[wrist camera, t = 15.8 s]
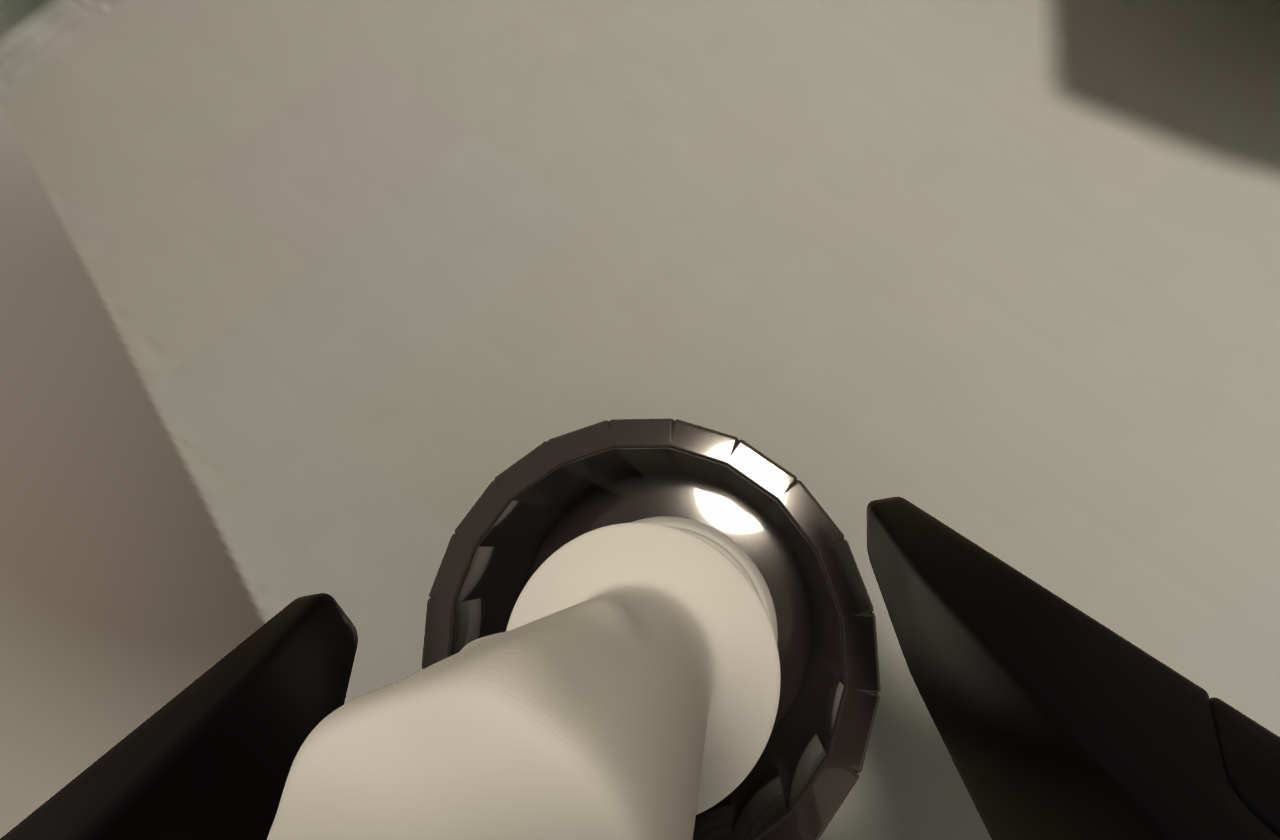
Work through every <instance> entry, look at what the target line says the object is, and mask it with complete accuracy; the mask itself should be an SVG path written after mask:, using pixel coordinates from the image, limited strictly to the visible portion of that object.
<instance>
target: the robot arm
mask: <svg viewBox="0 0 1280 840" xmlns="http://www.w3.org/2000/svg"><path fill="white" fill-rule="evenodd" d="M867 549H868V555H869V559H870V562H871V565H872V568H873V571H874V574H875V577H876V579H877V582H878V585H879V588H880V591H881V593H882V596H883V599H884V602H885V605H886V607H887V610H888V613H889V616H890V619H891V621H892V624H893V627H894V630H895V633H896V635H897V638H898V641H899V644H900V646H901V649H902V652H903V655H904V657H905V660H906V663H907V665H908V668H909V670H910V673H911V675H912V677H913V679H914V682H915V684H916V686H917V688H918V690H919V693H920V695H921V697H922V699H923V701H924V703H925V705H926V707H927V709H928V711H929V713H930V715H931V717H932V719H933V721H934V723H935V725H936V727H937V729H938V731H939V733H940V735H941V737H942V739H943V741H944V744H945V746H946V748H947V750H948V752H949V754H950V756H951V758H952V760H953V762H954V764H955V766H956V768H957V770H958V772H959V774H960V776H961V778H962V780H963V782H964V784H965V786H966V788H967V790H968V792H969V795H970V797H971V799H972V801H973V803H974V805H975V807H976V809H977V811H978V813H979V815H980V817H981V819H982V821H983V823H984V825H985V827H986V829H987V831H988V833H989V835H990V837H991V839H992V840H1280V737H1279V736H1277V735H1275V734H1274V733H1272V732H1270V731H1269V730H1267V729H1266V728H1264V727H1263V726H1261V725H1259V724H1258V723H1256V722H1255V721H1253V720H1252V719H1250V718H1248V717H1247V716H1245V715H1244V714H1242V713H1241V712H1239V711H1237V710H1236V709H1234V708H1233V707H1231V706H1230V705H1228V704H1226V703H1225V702H1223V701H1222V700H1220V699H1218V698H1210V699H1209V696H1208V694H1207V692H1206V691H1205V690H1204V689H1202V688H1201V687H1199V686H1198V685H1196V684H1194V683H1193V682H1191V681H1190V680H1188V679H1187V678H1185V677H1183V676H1182V675H1180V674H1179V673H1177V672H1176V671H1174V670H1172V669H1171V668H1169V667H1168V666H1166V665H1165V664H1163V663H1161V662H1160V661H1158V660H1157V659H1155V658H1154V657H1152V656H1150V655H1149V654H1147V653H1146V652H1144V651H1143V650H1141V649H1140V648H1138V647H1136V646H1135V645H1133V644H1132V643H1130V642H1129V641H1127V640H1125V639H1124V638H1122V637H1121V636H1119V635H1118V634H1116V633H1114V632H1113V631H1111V630H1110V629H1108V628H1107V627H1105V626H1103V625H1102V624H1100V623H1099V622H1097V621H1096V620H1094V619H1092V618H1091V617H1089V616H1088V615H1086V614H1085V613H1083V612H1081V611H1080V610H1078V609H1077V608H1075V607H1074V606H1072V605H1070V604H1069V603H1067V602H1066V601H1064V600H1063V599H1061V598H1059V597H1058V596H1056V595H1055V594H1053V593H1052V592H1050V591H1048V590H1047V589H1045V588H1044V587H1042V586H1041V585H1039V584H1037V583H1036V582H1034V581H1033V580H1031V579H1030V578H1028V577H1026V576H1025V575H1023V574H1022V573H1020V572H1019V571H1017V570H1015V569H1014V568H1012V567H1011V566H1009V565H1008V564H1006V563H1004V562H1003V561H1001V560H1000V559H998V558H997V557H995V556H993V555H992V554H990V553H989V552H987V551H986V550H984V549H983V548H981V547H979V546H978V545H976V544H975V543H973V542H972V541H970V540H968V539H967V538H965V537H964V536H962V535H961V534H959V533H957V532H956V531H954V530H953V529H951V528H950V527H948V526H946V525H945V524H943V523H942V522H940V521H939V520H937V519H935V518H934V517H932V516H931V515H929V514H928V513H926V512H924V511H923V510H921V509H920V508H918V507H917V506H915V505H913V504H912V503H910V502H909V501H907V500H905V499H904V498H901V497H892V498H886V499H880V500H874V501H871V502H870V503H869V504H868V506H867ZM357 643H358V636H357V631H356V628H355V626H354V625H353V623H352V622H351V621H350V619H349V618H348V617H347V615H346V614H345V613H344V611H343V610H342V609H341V607H340V606H339V605H338V603H337V602H336V601H335V599H334V598H333V597H332V596H330V595H328V594H325V593H320V594H315V595H309V596H303V597H300V598H297V599H295V600H294V601H293V602H291V603H290V604H289V605H288V606H286V607H285V608H284V609H283V610H282V611H280V612H279V613H278V614H277V615H275V616H274V617H273V618H272V619H270V620H269V621H268V622H267V623H266V624H264V625H263V626H262V627H261V628H259V629H258V630H257V631H256V632H255V633H253V634H252V635H251V636H250V637H248V638H247V639H246V640H245V641H244V642H242V643H241V644H240V645H239V646H237V647H236V648H235V649H234V650H232V651H231V652H230V653H229V654H227V655H226V656H225V657H224V658H223V659H221V660H220V661H219V662H218V663H216V664H215V665H214V666H213V667H212V668H210V669H209V670H208V671H206V672H205V673H204V674H203V675H202V676H201V677H199V678H198V679H197V680H195V681H194V682H193V683H192V684H190V686H188V687H187V688H186V689H184V690H183V691H182V692H181V693H179V694H178V695H177V696H176V697H174V698H173V699H172V700H171V701H170V702H168V703H167V704H166V705H165V706H163V707H162V708H161V709H160V710H159V711H157V712H156V713H155V714H154V715H152V716H151V717H150V718H149V719H147V720H146V721H145V722H144V723H142V724H141V725H140V726H139V727H138V728H137V729H135V730H134V731H133V732H131V733H130V734H129V735H128V736H127V737H125V738H124V739H123V740H122V741H120V742H119V743H118V744H117V745H115V746H114V747H113V748H112V749H111V750H109V751H108V752H107V753H106V754H104V755H103V756H102V757H101V758H100V759H98V760H97V761H96V762H94V763H93V764H92V765H91V766H90V767H88V768H87V769H86V770H85V771H83V772H82V773H81V774H80V775H78V776H77V777H76V778H75V779H74V780H72V781H71V782H70V783H69V784H67V785H66V786H65V787H64V788H63V789H61V790H60V791H59V792H58V793H56V794H55V795H54V796H53V797H51V798H50V799H49V800H48V801H46V802H45V803H44V804H43V805H42V806H40V807H39V808H38V809H37V810H35V811H34V812H33V813H32V814H31V815H29V816H28V817H27V818H26V819H24V820H23V821H22V822H21V823H20V824H18V825H17V826H16V827H14V828H13V829H12V830H11V831H10V832H8V833H7V834H6V835H5V836H3V837H2V838H1V839H0V840H267V837H268V834H269V832H270V829H271V827H272V824H273V821H274V819H275V816H276V813H277V810H278V807H279V803H280V800H281V796H282V793H283V790H284V786H285V783H286V780H287V777H288V774H289V771H290V769H291V766H292V764H293V761H294V759H295V757H296V755H297V753H298V751H299V749H300V747H301V746H302V744H303V742H304V741H305V740H306V738H307V737H308V735H309V734H310V733H311V731H312V730H313V729H314V728H315V727H316V726H317V725H318V724H319V723H320V722H321V721H322V720H323V719H324V718H325V717H327V716H328V715H329V714H330V713H332V712H333V711H334V710H336V709H338V708H339V707H341V706H343V705H344V701H345V697H346V692H347V688H348V684H349V679H350V675H351V670H352V666H353V662H354V657H355V653H356V649H357Z"/></svg>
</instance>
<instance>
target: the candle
mask: <svg viewBox="0 0 1280 840" xmlns="http://www.w3.org/2000/svg"><path fill="white" fill-rule="evenodd" d="M777 643H778V627H777V618H776V612H775V607H774V603H773V600H772V597H771V594H770V591H769V588H768V586H767V584H766V582H765V580H764V578H763V576H762V574H761V572H760V571H759V569H758V568H757V566H756V565H755V563H754V562H753V561H752V559H751V558H750V557H749V556H748V554H747V553H746V552H745V551H744V550H743V549H742V548H741V547H740V546H739V545H738V544H736V543H735V542H734V541H733V540H732V539H730V538H729V537H728V536H726V535H725V534H723V533H722V532H720V531H718V530H716V529H715V528H713V527H711V526H708V525H706V524H704V523H701V522H698V521H695V520H691V519H687V518H681V517H672V516H659V517H650V518H645V519H640V520H637V521H634V522H631V523H621V524H614V525H609V526H605V527H601V528H598V529H595V530H592V531H590V532H587V533H585V534H583V535H581V536H579V537H577V538H575V539H573V540H571V541H570V542H568V543H567V544H565V545H564V546H562V547H561V548H559V549H558V550H557V551H556V552H554V553H553V554H552V555H551V556H550V557H549V558H548V559H547V560H546V561H544V563H543V564H542V565H541V566H540V567H539V568H538V569H537V570H536V571H535V573H534V574H533V575H532V577H531V578H530V579H529V581H528V582H527V584H526V585H525V587H524V588H523V590H522V592H521V594H520V595H519V597H518V599H517V601H516V604H515V606H514V608H513V611H512V613H511V616H510V619H509V622H508V625H507V629H506V632H501V633H497V634H492V635H489V636H485V637H481V638H478V639H476V640H473V641H472V642H470V643H468V644H467V645H466V646H464V647H463V648H462V650H461V651H460V652H459V653H456V654H454V655H452V656H450V657H448V658H445V659H443V660H441V661H439V662H437V663H435V664H433V665H431V666H429V667H427V668H425V669H423V670H421V671H419V672H417V673H415V674H413V675H411V676H409V677H407V678H405V679H403V680H401V681H399V682H396V683H394V684H392V685H389V686H387V687H384V688H381V689H379V690H376V691H373V692H371V693H368V694H366V695H363V696H361V697H358V698H356V699H354V700H352V701H350V702H348V703H346V704H344V705H343V706H341V707H339V708H338V709H336V710H334V711H333V712H332V713H330V714H329V715H328V716H327V717H325V718H324V719H323V720H322V721H321V722H320V723H319V724H318V725H317V726H316V727H315V728H314V729H313V730H312V731H311V733H310V734H309V735H308V737H307V738H306V740H305V741H304V742H303V744H302V746H301V747H300V749H299V751H298V753H297V755H296V757H295V759H294V761H293V764H292V766H291V769H290V771H289V774H288V777H287V780H286V783H285V786H284V790H283V793H282V796H281V800H280V803H279V807H278V810H277V813H276V816H275V819H274V821H273V824H272V827H271V829H270V832H269V834H268V837H267V840H693V833H694V826H695V818H696V815H697V814H700V813H702V812H704V811H706V810H707V809H709V808H711V807H713V806H714V805H716V804H717V803H719V802H720V801H721V800H723V799H724V798H725V797H727V796H728V795H729V794H730V793H731V792H732V791H734V790H735V789H736V788H737V787H738V786H739V785H740V784H741V782H742V781H743V780H744V779H745V778H746V777H747V775H748V774H749V773H750V772H751V770H752V769H753V767H754V766H755V764H756V763H757V761H758V760H759V758H760V756H761V754H762V752H763V751H764V749H765V746H766V744H767V742H768V740H769V737H770V735H771V732H772V729H773V726H774V722H775V719H776V715H777V710H778V704H779V697H780V682H781V675H780V660H779V653H778V647H777Z"/></svg>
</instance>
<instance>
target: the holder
mask: <svg viewBox="0 0 1280 840" xmlns="http://www.w3.org/2000/svg"><path fill="white" fill-rule="evenodd" d="M659 516H672V517H681V518H687V519H691V520H695V521H698V522H701V523H704V524H706V525H708V526H711V527H713V528H715V529H716V530H718V531H720V532H722V533H723V534H725V535H726V536H728V537H729V538H730V539H732V540H733V541H734V542H735V543H736V544H738V545H739V546H740V547H741V548H742V549H743V550H744V551H745V552H746V553H747V554H748V556H749V557H750V558H751V559H752V561H753V562H754V563H755V565H756V566H757V568H758V569H759V571H760V572H761V574H762V576H763V578H764V580H765V582H766V584H767V586H768V588H769V591H770V594H771V597H772V600H773V603H774V607H775V612H776V618H777V627H778V643H777V647H778V653H779V660H780V675H781V682H780V697H779V704H778V710H777V715H776V719H775V722H774V726H773V729H772V732H771V735H770V737H769V740H768V742H767V744H766V746H765V749H764V751H763V752H762V754H761V756H760V758H759V760H758V761H757V763H756V764H755V766H754V767H753V769H752V770H751V772H750V773H749V774H748V775H747V777H746V778H745V779H744V780H743V781H742V782H741V784H740V785H739V786H738V787H737V788H736V789H735V790H734V791H732V792H731V793H730V794H729V795H728V796H727V797H725V798H724V799H723V800H721V801H720V802H719V803H717V804H716V805H714V806H713V807H711V808H709V809H707V810H706V811H704V812H702V813H700V814H697V815H696V818H695V826H694V833H693V840H818V839H819V838H820V836H821V835H822V833H823V832H824V830H825V829H826V827H827V826H828V824H829V822H830V821H831V819H832V818H833V816H834V815H835V813H836V812H837V810H838V809H839V807H840V806H841V804H842V803H843V801H844V800H845V798H846V797H847V795H848V794H849V792H850V791H851V789H852V787H853V786H854V784H855V783H856V781H857V780H858V778H859V774H858V773H860V772H861V770H862V767H863V763H864V759H865V755H866V751H867V747H868V743H869V739H870V735H871V731H872V727H873V723H874V719H875V715H876V711H877V707H878V703H879V699H880V697H879V694H878V693H879V692H880V675H879V661H878V647H877V632H876V618H875V615H874V613H872V612H873V605H872V603H871V600H870V598H869V595H868V593H867V590H866V587H865V585H864V582H863V580H862V577H861V575H860V572H859V570H858V567H857V564H856V562H855V559H854V557H853V554H852V552H851V549H850V547H849V544H848V542H847V541H846V539H844V535H843V533H842V532H841V531H840V529H839V528H838V527H837V526H836V524H835V523H834V522H833V521H832V519H831V518H830V517H829V516H828V514H827V513H826V512H825V511H824V509H823V508H822V507H821V506H820V504H819V503H818V502H817V501H816V499H815V498H814V497H813V496H812V494H811V493H810V492H809V490H808V489H807V488H806V487H805V485H804V484H803V483H802V482H801V481H799V480H797V478H796V476H795V475H793V474H792V473H790V472H789V471H787V470H786V469H784V468H783V467H781V466H780V465H778V464H777V463H776V462H774V461H773V460H771V459H770V458H768V457H767V456H765V455H764V454H762V453H761V452H759V451H758V450H756V449H755V448H753V447H752V446H751V445H749V444H748V443H746V442H745V441H743V440H739V441H738V438H737V437H734V436H731V435H728V434H724V433H721V432H718V431H714V430H711V429H708V428H704V427H701V426H698V425H694V424H691V423H688V422H684V421H681V420H675V421H674V420H673V419H616V420H610V421H603V422H600V423H597V424H594V425H591V426H588V427H585V428H582V429H579V430H576V431H573V432H570V433H567V434H564V435H561V436H558V437H555V438H552V439H550V440H548V442H547V441H546V442H544V443H542V444H541V445H539V446H538V447H537V448H535V449H534V450H533V451H531V452H530V453H528V454H527V455H526V456H524V457H523V458H522V459H520V460H519V461H517V462H516V463H515V464H513V465H512V466H511V467H509V468H508V469H506V470H505V471H504V472H502V473H501V474H500V475H498V476H497V477H496V478H495V480H494V481H492V482H491V484H490V485H489V486H488V488H487V489H486V490H485V492H484V493H483V494H482V496H481V497H480V498H479V499H478V501H477V502H476V503H475V505H474V506H473V507H472V509H471V510H470V511H469V513H468V514H467V515H466V517H465V518H464V519H463V520H462V522H461V523H460V524H459V526H458V527H457V528H456V530H455V533H456V534H453V535H452V537H451V540H450V542H449V545H448V547H447V550H446V553H445V555H444V558H443V560H442V563H441V566H440V568H439V571H438V573H437V576H436V578H435V581H434V584H433V586H432V589H431V591H430V594H429V597H431V598H429V600H428V604H427V615H426V626H425V636H424V647H423V658H422V668H423V669H425V668H427V667H429V666H431V665H433V664H435V663H437V662H439V661H441V660H443V659H445V658H448V657H450V656H452V655H454V654H456V653H459V652H460V651H461V650H462V648H463V647H464V646H466V645H467V644H468V643H470V642H472V641H473V640H476V639H478V638H481V637H485V636H489V635H492V634H497V633H501V632H506V629H507V625H508V622H509V619H510V616H511V613H512V611H513V608H514V606H515V604H516V601H517V599H518V597H519V595H520V594H521V592H522V590H523V588H524V587H525V585H526V584H527V582H528V581H529V579H530V578H531V577H532V575H533V574H534V573H535V571H536V570H537V569H538V568H539V567H540V566H541V565H542V564H543V563H544V561H546V560H547V559H548V558H549V557H550V556H551V555H552V554H553V553H554V552H556V551H557V550H558V549H559V548H561V547H562V546H564V545H565V544H567V543H568V542H570V541H571V540H573V539H575V538H577V537H579V536H581V535H583V534H585V533H587V532H590V531H592V530H595V529H598V528H601V527H605V526H609V525H614V524H621V523H631V522H634V521H637V520H640V519H645V518H650V517H659Z"/></svg>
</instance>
